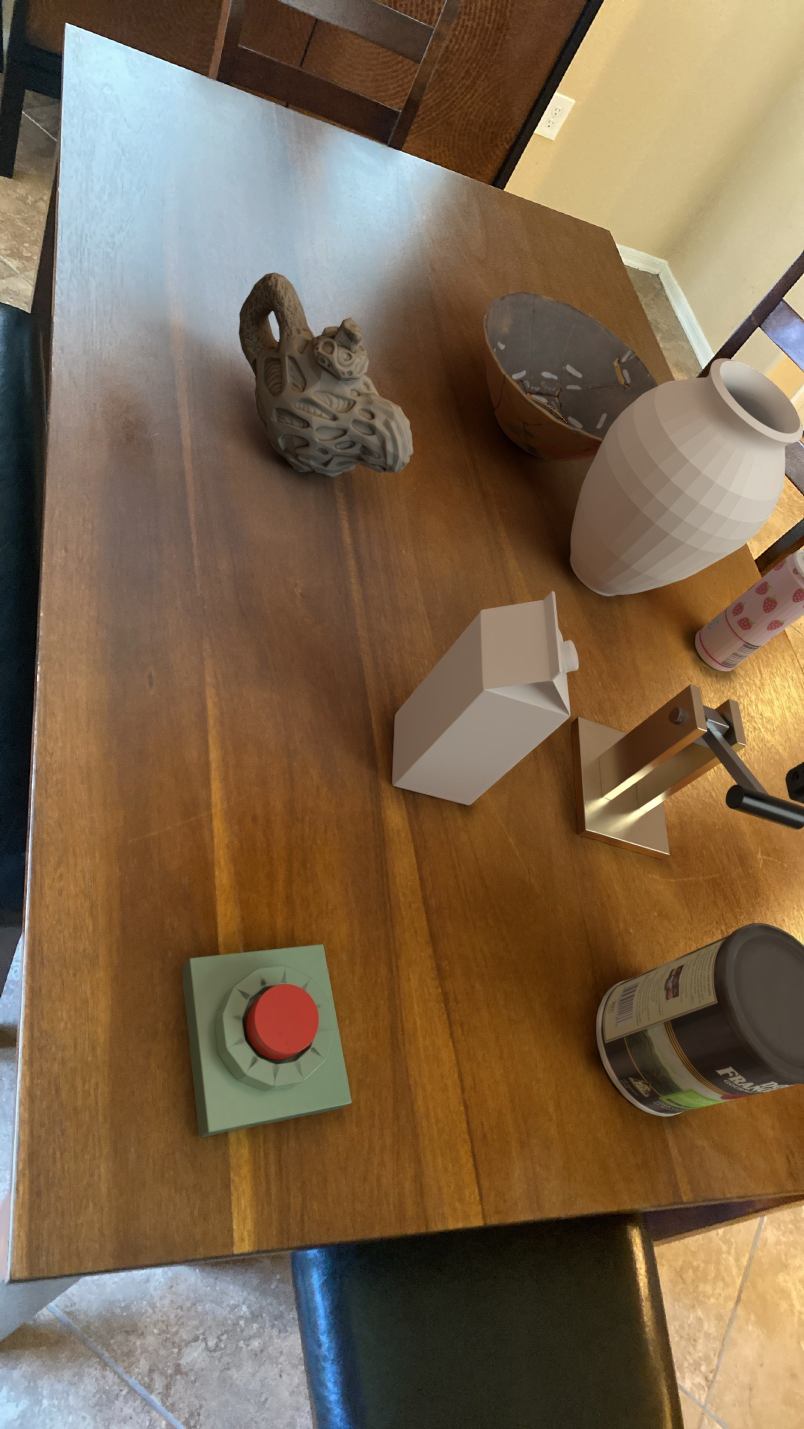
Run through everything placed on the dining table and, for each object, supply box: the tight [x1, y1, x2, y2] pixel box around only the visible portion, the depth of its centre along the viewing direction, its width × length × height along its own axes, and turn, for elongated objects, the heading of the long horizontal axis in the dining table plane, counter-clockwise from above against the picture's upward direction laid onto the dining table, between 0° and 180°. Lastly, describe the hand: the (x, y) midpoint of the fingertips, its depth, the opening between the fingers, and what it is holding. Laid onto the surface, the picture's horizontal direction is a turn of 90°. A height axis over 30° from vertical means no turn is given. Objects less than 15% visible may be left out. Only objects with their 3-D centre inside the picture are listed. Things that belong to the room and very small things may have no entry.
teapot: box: [238, 272, 414, 478], centre depth 80 cm, size 21×12×15 cm, turn 53°
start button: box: [246, 984, 319, 1060], centre depth 52 cm, size 4×4×2 cm
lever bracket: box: [570, 683, 748, 860], centre depth 75 cm, size 12×9×14 cm
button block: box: [181, 943, 353, 1138], centre depth 54 cm, size 10×9×4 cm
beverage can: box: [694, 549, 804, 672], centre depth 93 cm, size 6×6×15 cm
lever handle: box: [692, 704, 804, 831], centre depth 67 cm, size 13×6×2 cm, turn 176°
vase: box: [569, 358, 804, 597], centre depth 88 cm, size 18×18×25 cm
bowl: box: [481, 291, 659, 463], centre depth 103 cm, size 25×25×10 cm
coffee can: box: [595, 922, 804, 1117], centre depth 62 cm, size 10×10×14 cm
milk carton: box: [391, 590, 580, 806], centre depth 66 cm, size 7×7×19 cm
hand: (795, 791), depth 60 cm, fingers closed
